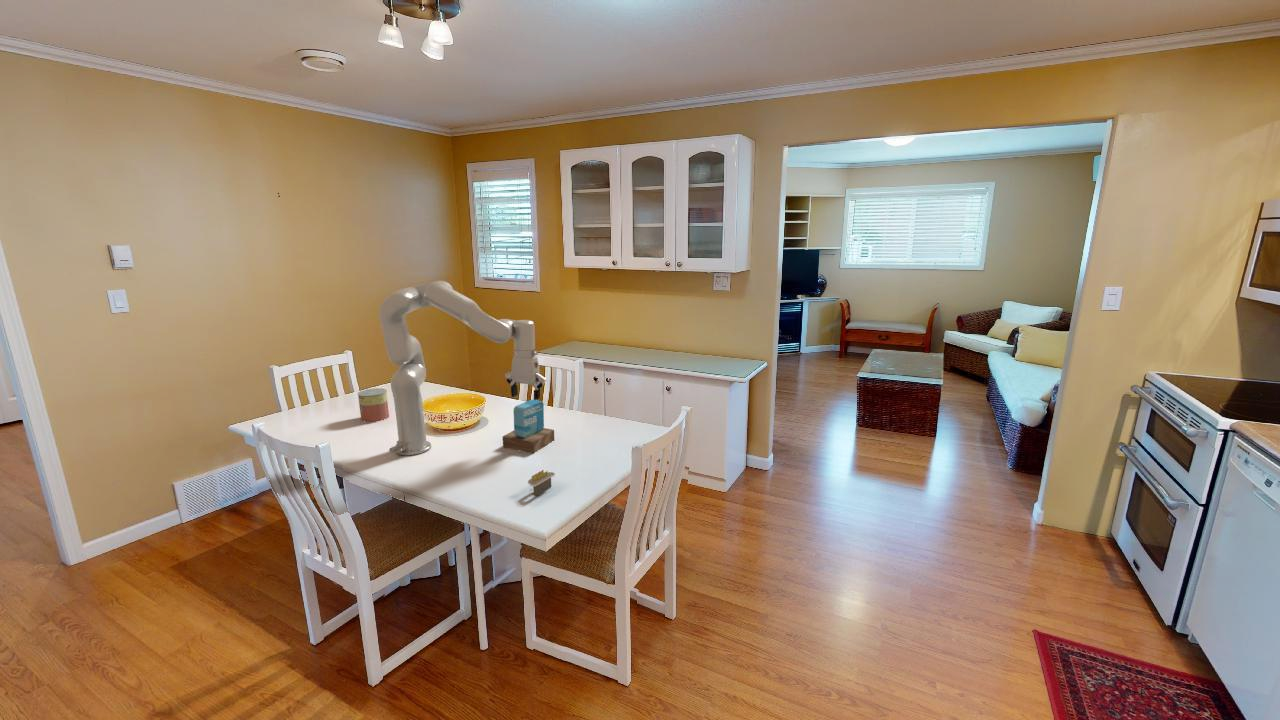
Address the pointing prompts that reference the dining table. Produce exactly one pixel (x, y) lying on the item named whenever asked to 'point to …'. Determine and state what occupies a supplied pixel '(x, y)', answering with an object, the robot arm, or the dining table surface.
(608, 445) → the dining table surface
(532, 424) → the blue flat box
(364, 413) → the canned food
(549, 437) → the walnut base block
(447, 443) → the dining table surface
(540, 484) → the platform
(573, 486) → the dining table surface
